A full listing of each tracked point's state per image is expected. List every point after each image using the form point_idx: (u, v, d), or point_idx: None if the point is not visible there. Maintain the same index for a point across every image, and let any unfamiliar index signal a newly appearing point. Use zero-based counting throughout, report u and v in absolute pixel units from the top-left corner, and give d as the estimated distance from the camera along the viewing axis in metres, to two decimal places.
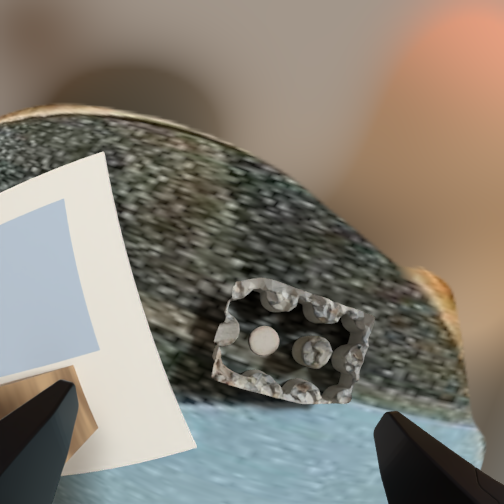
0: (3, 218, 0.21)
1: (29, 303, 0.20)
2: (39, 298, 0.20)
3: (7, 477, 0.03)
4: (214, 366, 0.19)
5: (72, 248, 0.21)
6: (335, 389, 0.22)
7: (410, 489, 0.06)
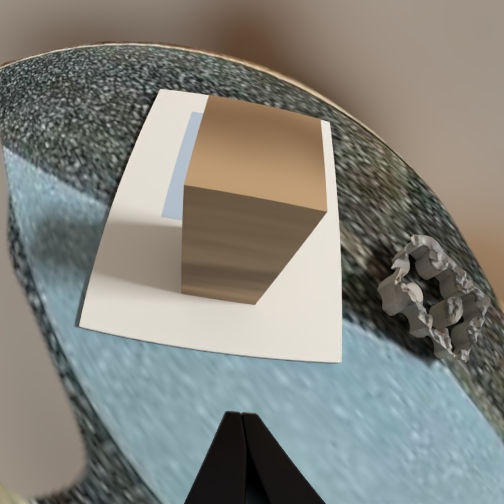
0: None
1: None
2: None
3: None
4: (395, 279, 0.22)
5: None
6: (455, 351, 0.23)
7: None
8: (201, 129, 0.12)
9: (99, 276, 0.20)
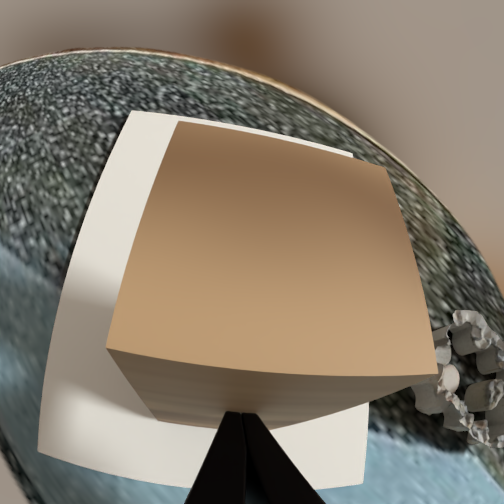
0: None
1: None
2: None
3: None
4: (437, 384, 0.15)
5: None
6: (490, 436, 0.16)
7: None
8: (156, 191, 0.05)
9: (52, 391, 0.13)
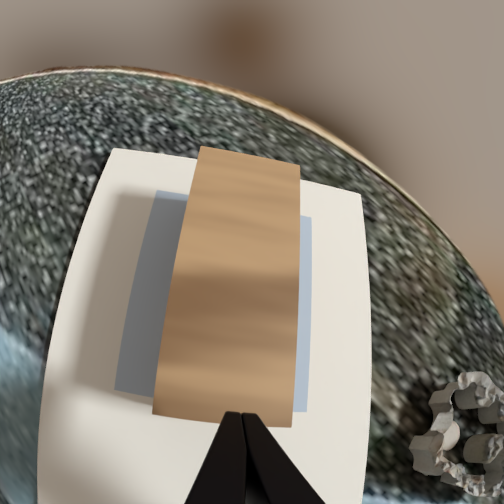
0: None
1: None
2: None
3: None
4: (436, 455, 0.13)
5: (311, 278, 0.19)
6: (486, 484, 0.14)
7: None
8: None
9: (47, 465, 0.11)
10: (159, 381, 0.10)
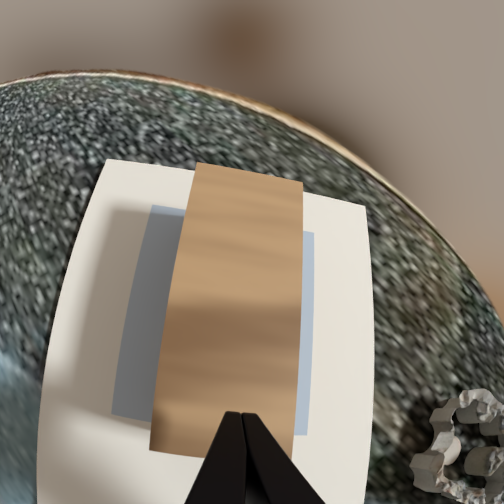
0: None
1: None
2: None
3: None
4: (436, 475, 0.12)
5: (313, 298, 0.18)
6: (487, 495, 0.13)
7: None
8: None
9: (46, 486, 0.10)
10: (155, 418, 0.09)
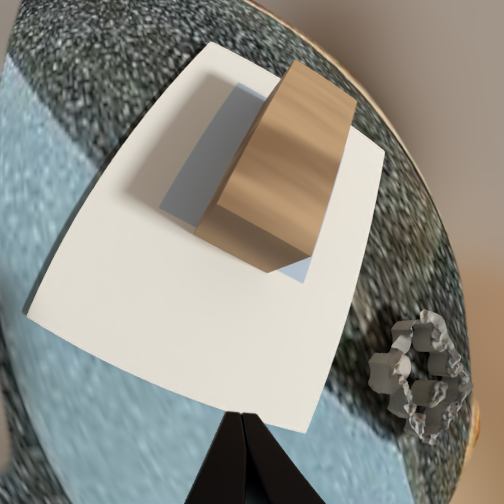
0: None
1: None
2: None
3: None
4: (394, 367, 0.19)
5: (333, 188, 0.23)
6: (424, 432, 0.21)
7: None
8: (278, 84, 0.21)
9: (63, 261, 0.15)
10: (230, 183, 0.14)
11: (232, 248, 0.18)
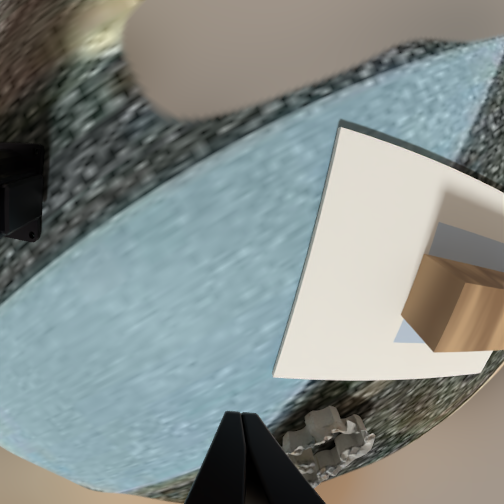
0: None
1: None
2: None
3: None
4: (335, 428, 0.23)
5: None
6: None
7: None
8: None
9: (391, 153, 0.18)
10: (476, 286, 0.16)
11: (421, 288, 0.20)
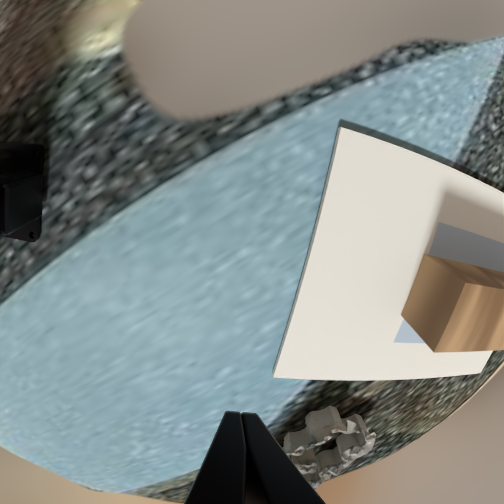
0: None
1: None
2: None
3: None
4: (335, 428, 0.23)
5: None
6: None
7: None
8: None
9: (391, 153, 0.18)
10: (476, 286, 0.16)
11: (421, 288, 0.20)
